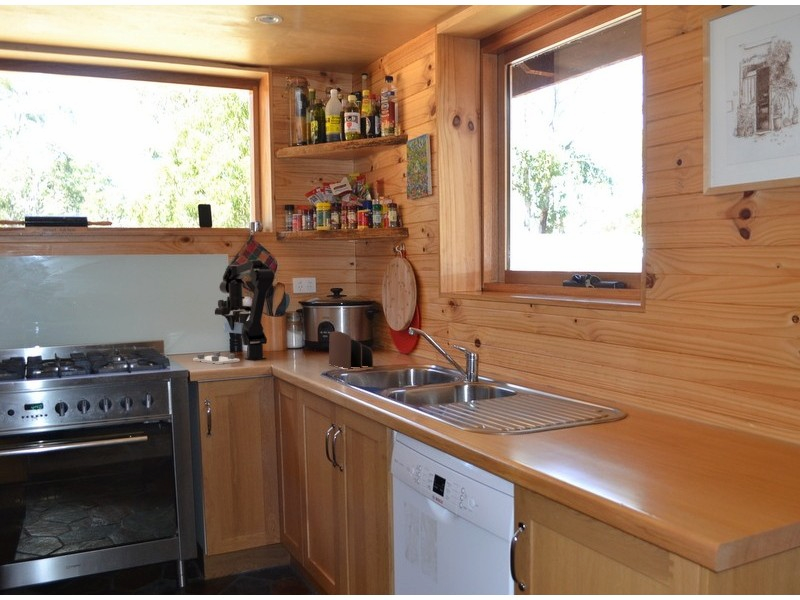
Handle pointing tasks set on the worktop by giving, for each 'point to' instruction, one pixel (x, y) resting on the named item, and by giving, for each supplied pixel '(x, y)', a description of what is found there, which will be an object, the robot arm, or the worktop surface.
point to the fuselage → (237, 328)
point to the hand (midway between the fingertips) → (236, 330)
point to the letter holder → (348, 352)
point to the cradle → (216, 358)
